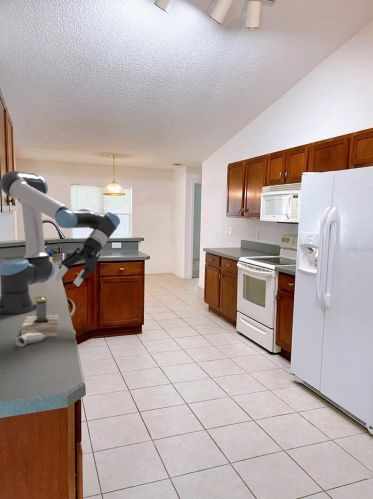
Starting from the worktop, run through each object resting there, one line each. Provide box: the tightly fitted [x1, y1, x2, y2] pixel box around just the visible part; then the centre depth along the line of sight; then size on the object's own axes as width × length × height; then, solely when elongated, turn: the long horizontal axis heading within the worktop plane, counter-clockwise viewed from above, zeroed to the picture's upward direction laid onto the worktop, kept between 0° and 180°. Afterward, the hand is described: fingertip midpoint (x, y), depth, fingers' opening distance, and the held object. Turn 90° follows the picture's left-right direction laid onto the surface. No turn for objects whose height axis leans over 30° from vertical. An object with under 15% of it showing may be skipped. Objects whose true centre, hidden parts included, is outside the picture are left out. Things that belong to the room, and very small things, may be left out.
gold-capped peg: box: [34, 296, 48, 323], centre depth 133 cm, size 4×4×13 cm
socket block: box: [20, 314, 60, 338], centre depth 134 cm, size 14×12×4 cm
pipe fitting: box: [15, 329, 46, 347], centre depth 122 cm, size 8×4×7 cm
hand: (65, 282), depth 141 cm, fingers open, 13 cm apart
